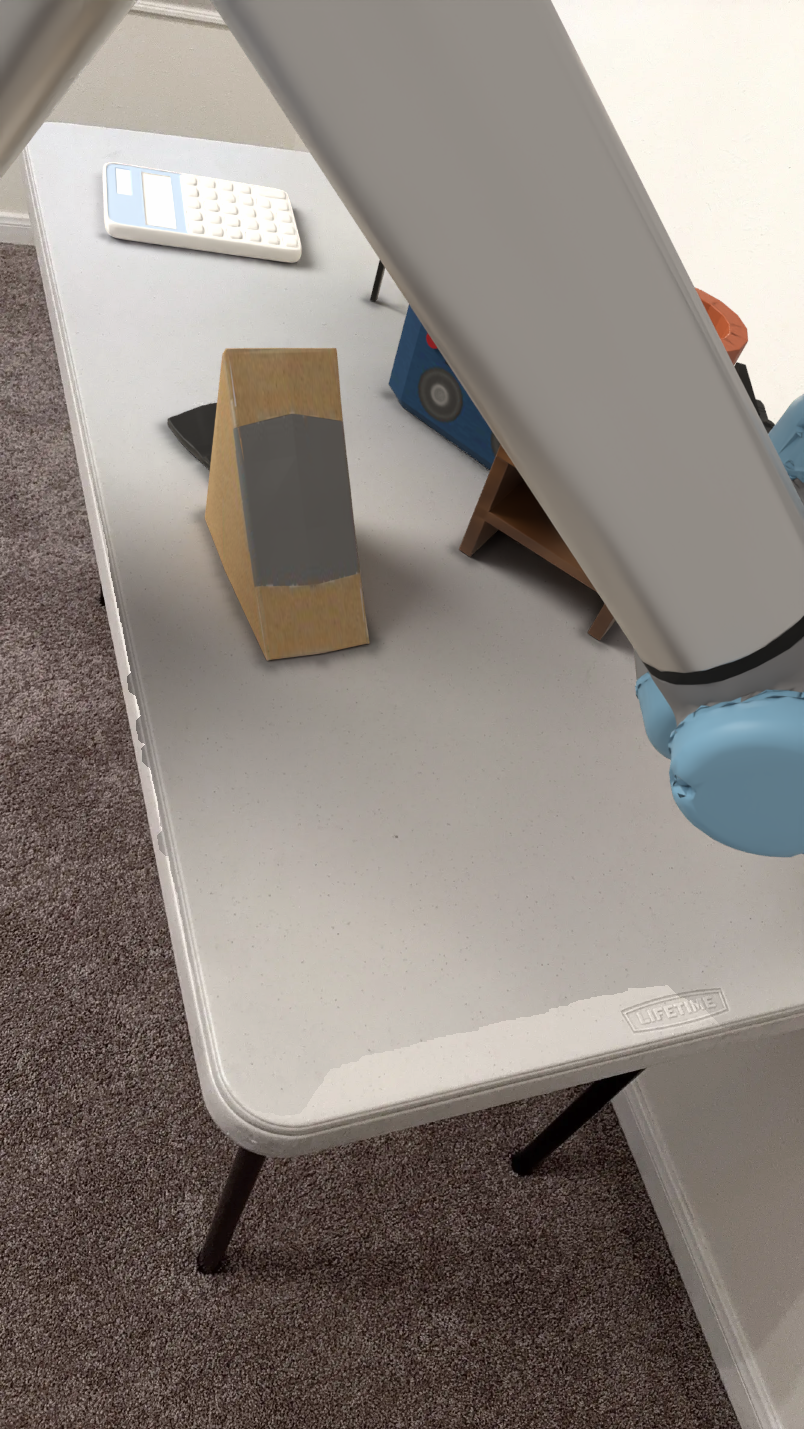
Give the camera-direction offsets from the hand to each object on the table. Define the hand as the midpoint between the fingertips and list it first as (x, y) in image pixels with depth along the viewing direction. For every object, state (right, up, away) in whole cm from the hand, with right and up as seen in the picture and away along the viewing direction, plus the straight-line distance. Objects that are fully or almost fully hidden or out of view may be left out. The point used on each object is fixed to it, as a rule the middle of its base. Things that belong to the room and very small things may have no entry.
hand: (649, 355), depth 74 cm
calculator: (-40, +26, +31) cm, 57 cm away
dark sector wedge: (-32, -4, +10) cm, 34 cm away
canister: (-2, -7, +3) cm, 7 cm away
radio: (-11, -2, +19) cm, 22 cm away
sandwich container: (-28, -17, +1) cm, 32 cm away
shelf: (-5, -13, +11) cm, 18 cm away
